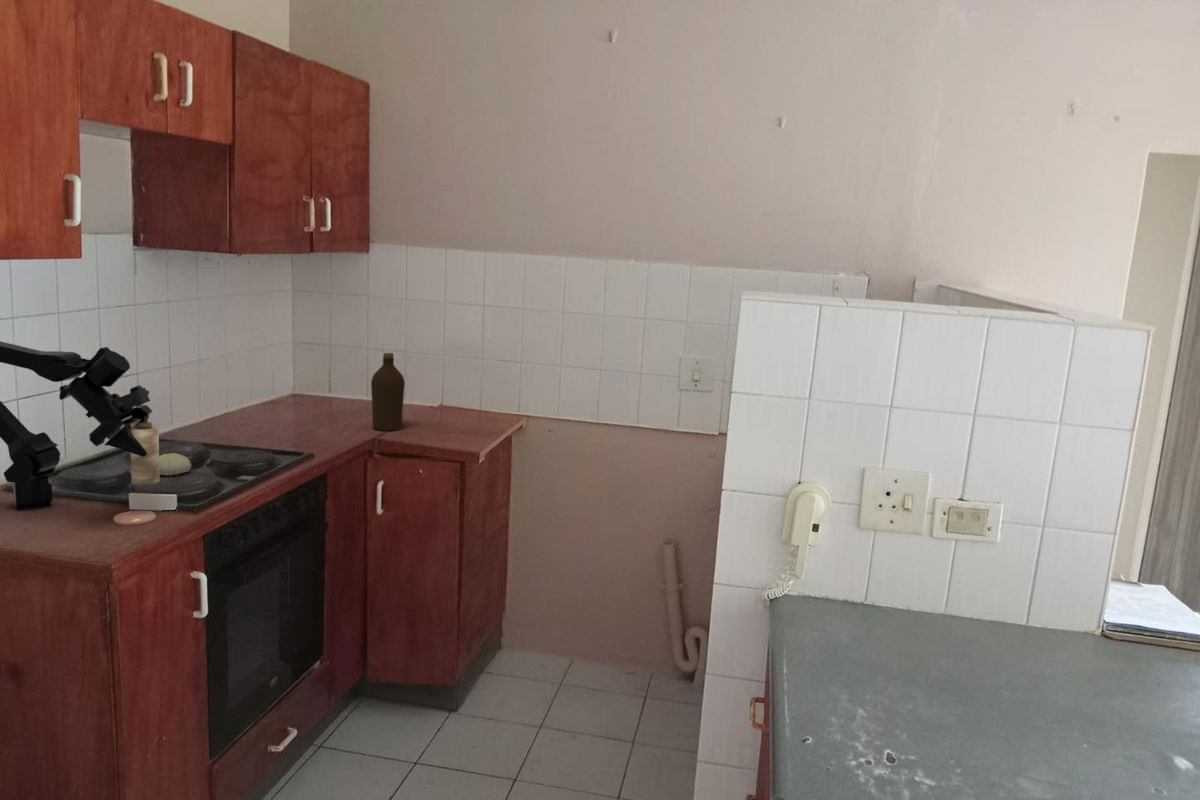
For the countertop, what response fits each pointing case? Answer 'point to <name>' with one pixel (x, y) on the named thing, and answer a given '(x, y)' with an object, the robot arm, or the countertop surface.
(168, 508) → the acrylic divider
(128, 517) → the coaster
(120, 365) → the robot arm
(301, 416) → the countertop surface
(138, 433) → the thread spool
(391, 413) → the olive oil
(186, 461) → the sea urchin shell
